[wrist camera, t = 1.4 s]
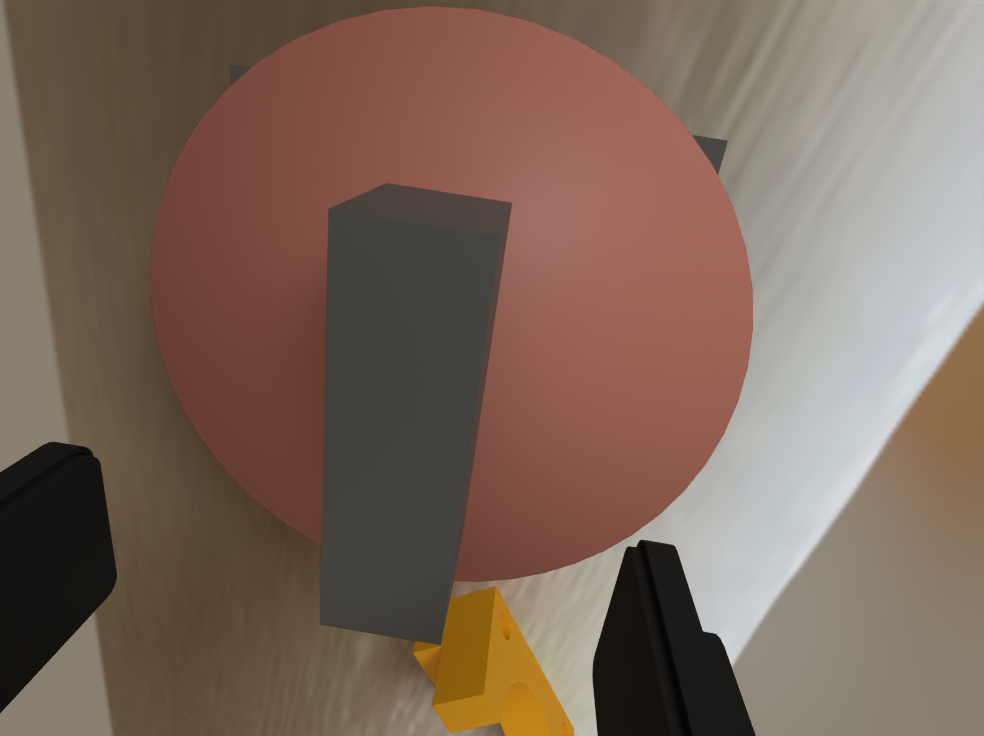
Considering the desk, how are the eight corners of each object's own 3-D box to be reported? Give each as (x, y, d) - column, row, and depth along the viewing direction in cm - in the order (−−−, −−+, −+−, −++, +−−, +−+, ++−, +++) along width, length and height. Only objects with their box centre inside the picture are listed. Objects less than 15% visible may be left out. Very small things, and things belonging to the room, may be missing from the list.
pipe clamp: (424, 603, 32) (397, 713, 26) (495, 584, 31) (484, 694, 25) (508, 739, 36) (501, 860, 30) (573, 726, 35) (579, 848, 29)
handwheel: (143, -34, 15) (-169, -148, 8) (834, 69, 15) (1069, 35, 8) (195, 515, 22) (50, 682, 16) (654, 593, 22) (700, 797, 16)
